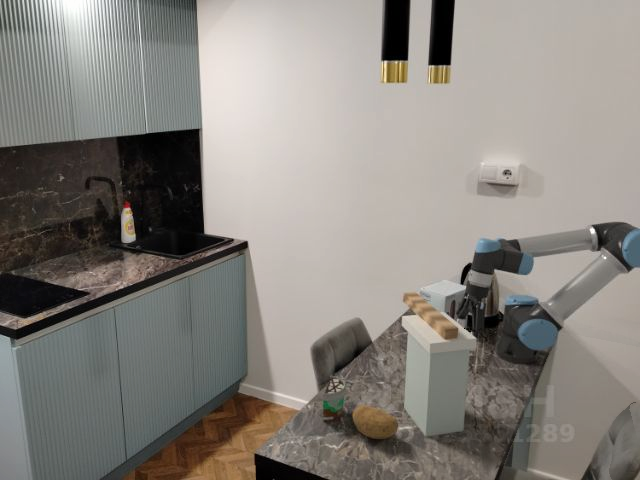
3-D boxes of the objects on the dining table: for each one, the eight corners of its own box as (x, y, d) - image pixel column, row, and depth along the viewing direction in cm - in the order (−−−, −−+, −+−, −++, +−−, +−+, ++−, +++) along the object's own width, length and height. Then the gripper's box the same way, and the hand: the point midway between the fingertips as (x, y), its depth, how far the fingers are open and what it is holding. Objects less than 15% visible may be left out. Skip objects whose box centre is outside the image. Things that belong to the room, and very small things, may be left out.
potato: (387, 452, 164) (388, 427, 162) (345, 434, 172) (346, 410, 170) (404, 436, 172) (406, 411, 170) (363, 420, 180) (364, 396, 178)
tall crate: (398, 404, 189) (402, 316, 181) (438, 398, 192) (444, 312, 184) (424, 440, 170) (430, 343, 162) (468, 433, 174) (476, 338, 166)
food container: (342, 426, 177) (343, 396, 174) (322, 424, 178) (322, 394, 175) (349, 405, 188) (349, 376, 186) (330, 403, 189) (330, 374, 187)
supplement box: (442, 339, 236) (445, 296, 232) (416, 329, 246) (418, 288, 241) (467, 327, 248) (471, 286, 243) (441, 318, 257) (444, 278, 252)
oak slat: (402, 301, 193) (403, 292, 192) (414, 300, 194) (414, 291, 193) (444, 339, 165) (445, 329, 164) (457, 338, 166) (458, 328, 165)
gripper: (456, 273, 212) (442, 330, 216) (482, 291, 188) (466, 354, 191) (475, 277, 213) (461, 333, 217) (504, 295, 189) (487, 358, 192)
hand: (463, 343), depth 204 cm, fingers open, 13 cm apart
